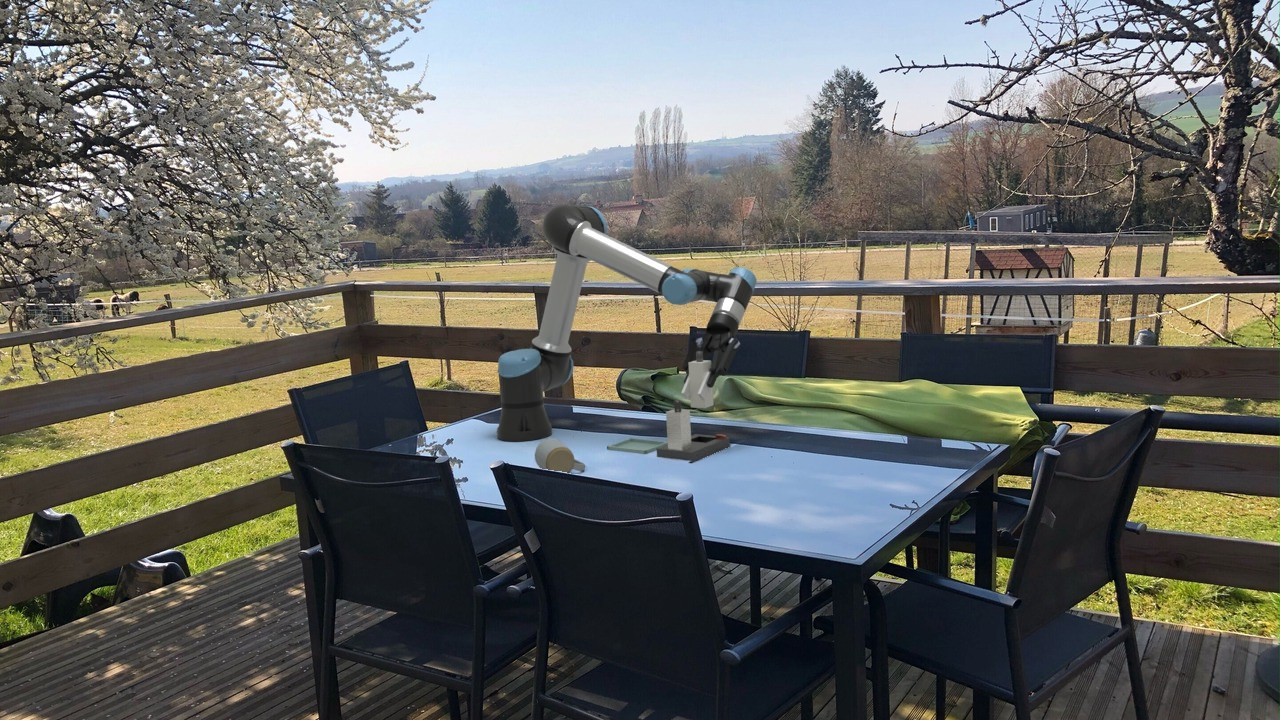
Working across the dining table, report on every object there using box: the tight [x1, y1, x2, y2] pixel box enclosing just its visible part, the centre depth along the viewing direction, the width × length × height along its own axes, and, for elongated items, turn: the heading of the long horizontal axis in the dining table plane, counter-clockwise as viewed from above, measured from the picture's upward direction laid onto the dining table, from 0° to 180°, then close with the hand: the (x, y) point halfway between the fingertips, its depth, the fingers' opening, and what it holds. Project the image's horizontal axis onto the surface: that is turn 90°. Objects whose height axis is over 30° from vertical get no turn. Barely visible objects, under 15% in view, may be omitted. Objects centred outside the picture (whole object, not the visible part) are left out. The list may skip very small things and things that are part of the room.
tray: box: [606, 437, 668, 455], centre depth 222 cm, size 12×10×1 cm
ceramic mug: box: [534, 438, 586, 474], centre depth 204 cm, size 11×8×8 cm
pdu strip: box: [656, 399, 731, 464], centre depth 215 cm, size 10×17×14 cm, turn 144°
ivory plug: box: [688, 351, 715, 409], centre depth 216 cm, size 4×4×13 cm
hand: (693, 396), depth 214 cm, fingers closed on ivory plug, 4 cm apart
